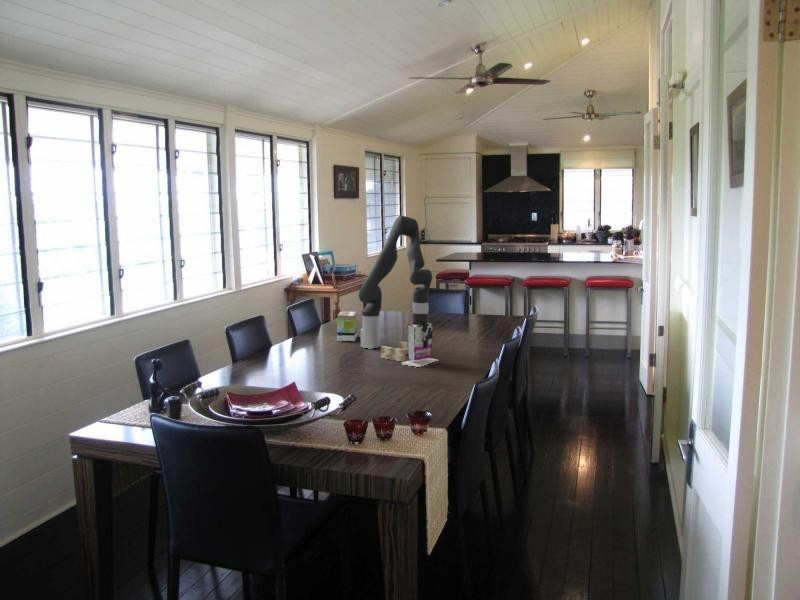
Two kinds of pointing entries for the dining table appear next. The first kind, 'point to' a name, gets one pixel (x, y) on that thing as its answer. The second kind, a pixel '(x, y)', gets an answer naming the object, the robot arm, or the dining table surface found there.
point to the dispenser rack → (395, 352)
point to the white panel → (419, 362)
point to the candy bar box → (418, 343)
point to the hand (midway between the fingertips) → (420, 346)
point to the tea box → (346, 326)
